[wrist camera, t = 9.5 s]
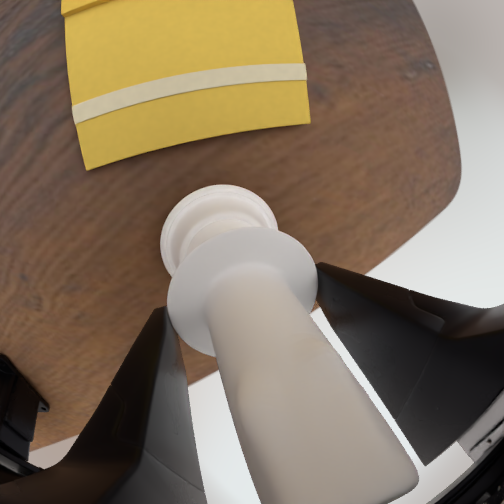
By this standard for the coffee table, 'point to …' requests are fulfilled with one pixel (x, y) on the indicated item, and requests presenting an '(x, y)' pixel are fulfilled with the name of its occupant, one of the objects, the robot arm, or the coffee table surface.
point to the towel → (180, 72)
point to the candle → (276, 355)
